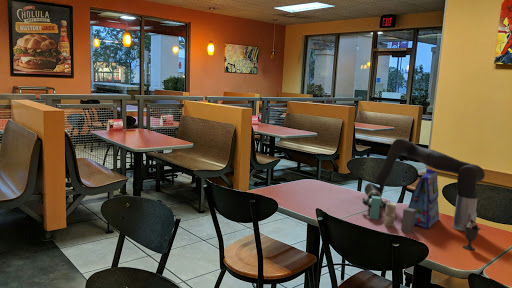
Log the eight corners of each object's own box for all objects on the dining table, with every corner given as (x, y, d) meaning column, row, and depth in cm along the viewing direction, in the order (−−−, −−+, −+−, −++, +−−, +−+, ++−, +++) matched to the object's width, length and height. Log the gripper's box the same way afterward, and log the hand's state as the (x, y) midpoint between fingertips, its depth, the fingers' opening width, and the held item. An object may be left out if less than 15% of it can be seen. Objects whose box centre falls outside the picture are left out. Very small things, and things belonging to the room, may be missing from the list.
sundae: (462, 244, 189) (467, 212, 186) (478, 248, 185) (483, 216, 182) (458, 248, 184) (463, 216, 181) (475, 252, 179) (480, 220, 177)
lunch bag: (429, 230, 205) (436, 174, 200) (401, 222, 213) (408, 168, 208) (439, 219, 222) (447, 167, 217) (414, 213, 230) (420, 163, 225)
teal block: (378, 216, 220) (380, 196, 219) (378, 219, 216) (380, 199, 214) (369, 215, 221) (371, 195, 220) (369, 217, 217) (371, 197, 215)
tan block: (393, 223, 210) (395, 203, 209) (393, 226, 206) (396, 205, 204) (384, 222, 212) (386, 201, 210) (384, 225, 207) (386, 204, 205)
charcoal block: (413, 230, 202) (416, 209, 200) (410, 233, 198) (412, 211, 197) (404, 228, 205) (406, 207, 203) (400, 230, 201) (403, 209, 199)
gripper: (362, 190, 232) (362, 198, 216) (388, 193, 229) (390, 201, 213) (360, 202, 234) (360, 211, 217) (386, 206, 230) (388, 215, 214)
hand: (375, 206), depth 215 cm, fingers closed on teal block, 4 cm apart
